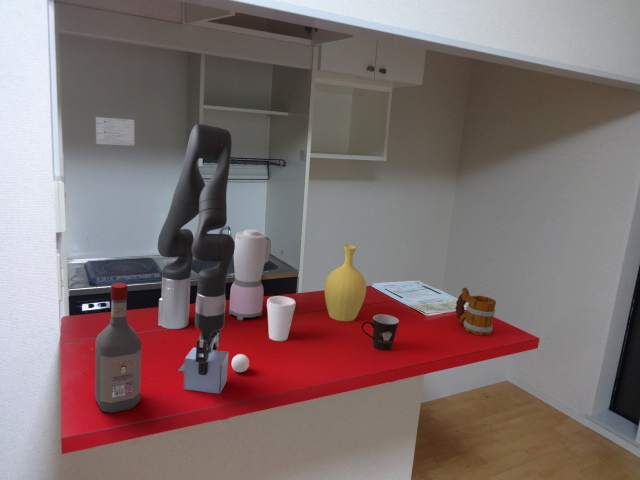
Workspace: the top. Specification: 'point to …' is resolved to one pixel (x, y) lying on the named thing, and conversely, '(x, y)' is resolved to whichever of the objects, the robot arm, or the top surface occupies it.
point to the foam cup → (280, 316)
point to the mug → (476, 313)
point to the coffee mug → (383, 331)
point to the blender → (248, 273)
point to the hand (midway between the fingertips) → (207, 367)
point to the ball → (240, 363)
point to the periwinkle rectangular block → (214, 376)
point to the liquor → (117, 358)
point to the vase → (345, 289)
